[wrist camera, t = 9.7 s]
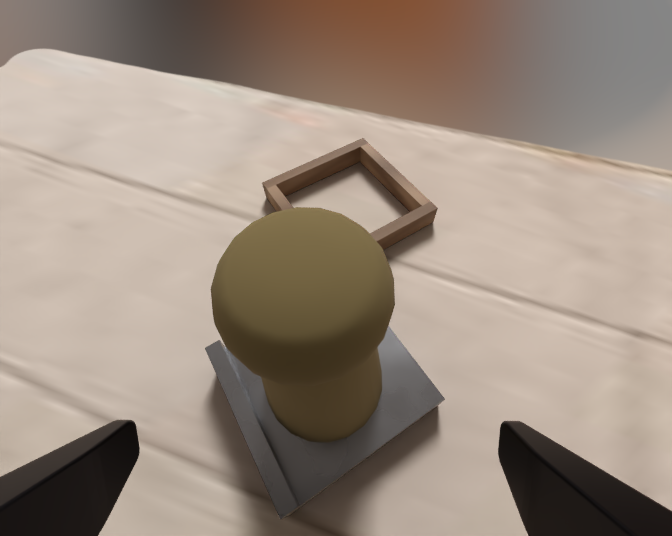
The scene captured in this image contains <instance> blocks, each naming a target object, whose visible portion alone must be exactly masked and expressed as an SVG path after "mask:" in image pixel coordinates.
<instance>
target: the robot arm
mask: <svg viewBox="0 0 672 536" xmlns="http://www.w3.org/2000/svg"><path fill="white" fill-rule="evenodd" d="M498 455H499V460H500V463H501V466H502V468H503V471H504V474H505V476H506V479H507V482H508V484H509V487H510V490H511V492H512V495H513V498H514V500H515V503H516V506H517V508H518V511H519V514H520V516H521V519H522V521H523V524H524V526H525V529H526V531H527V533H528V536H672V511H671V510H669V509H667V508H666V507H664V506H662V505H661V504H659V503H657V502H655V501H654V500H652V499H650V498H649V497H647V496H645V495H644V494H642V493H640V492H639V491H637V490H635V489H634V488H632V487H630V486H629V485H627V484H625V483H623V482H622V481H620V480H618V479H617V478H615V477H613V476H612V475H610V474H608V473H607V472H605V471H603V470H602V469H600V468H598V467H597V466H595V465H593V464H591V463H590V462H588V461H586V460H585V459H583V458H581V457H580V456H578V455H576V454H575V453H573V452H571V451H570V450H568V449H566V448H565V447H563V446H561V445H559V444H558V443H556V442H554V441H553V440H551V439H549V438H548V437H546V436H544V435H543V434H541V433H539V432H538V431H536V430H534V429H533V428H531V427H529V426H528V425H526V424H524V423H522V422H520V421H504V422H503V423H502V424H501V427H500V437H499V448H498ZM138 456H139V442H138V435H137V429H136V424H135V422H134V421H132V420H115V421H113V422H111V423H109V424H107V425H105V426H103V427H101V428H99V429H97V430H95V431H93V432H91V433H89V434H87V435H85V436H83V437H80V438H78V439H76V440H74V441H72V442H70V443H68V444H66V445H64V446H62V447H60V448H58V449H56V450H54V451H52V452H50V453H48V454H46V455H44V456H42V457H40V458H38V459H36V460H34V461H32V462H30V463H28V464H26V465H24V466H22V467H20V468H18V469H16V470H14V471H12V472H9V473H7V474H5V475H3V476H1V477H0V536H98V535H99V533H100V531H101V530H102V528H103V526H104V524H105V522H106V521H107V519H108V517H109V515H110V513H111V511H112V509H113V507H114V505H115V503H116V501H117V499H118V497H119V495H120V493H121V491H122V489H123V487H124V485H125V483H126V481H127V479H128V477H129V475H130V473H131V471H132V469H133V467H134V465H135V463H136V461H137V459H138Z"/></svg>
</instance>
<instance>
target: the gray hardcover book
mask: <svg viewBox="0 0 672 536" xmlns="http://www.w3.org/2000/svg"><path fill="white" fill-rule="evenodd" d="M205 349H206V352H207V354H208V356H209V359H210V361H211V363H212V365H213V368H214V370H215V372H216V374H217V377H218V379H219V381H220V383H221V386H222V388H223V390H224V393H225V395H226V397H227V399H228V402H229V404H230V406H231V408H232V411H233V413H234V415H235V418H236V420H237V422H238V424H239V427H240V429H241V431H242V433H243V436H244V438H245V440H246V442H247V445H248V447H249V449H250V452H251V454H252V456H253V458H254V461H255V463H256V465H257V467H258V470H259V472H260V474H261V477H262V479H263V481H264V483H265V486H266V488H267V490H268V492H269V495H270V497H271V499H272V501H273V504H274V506H275V508H276V511H277V513H278V515H279V517H280V519H282V518H285V517H287V516H289V515H291V514H292V513H293V512H295V511H296V510H297V509H299V508H300V507H301V506H303V505H304V504H305V503H307V502H308V501H309V500H311V499H312V498H314V497H315V496H316V495H318V494H319V493H320V492H322V491H323V490H324V489H326V488H327V487H328V486H330V485H331V484H332V483H334V482H335V481H337V480H338V479H339V478H341V477H342V476H343V475H345V474H346V473H347V472H349V471H350V470H351V469H353V468H354V467H355V466H357V465H358V464H360V463H361V462H362V461H364V460H365V459H366V458H368V457H369V456H370V455H372V454H373V453H374V452H376V451H377V450H378V449H380V448H381V447H383V446H384V445H385V444H387V443H388V442H389V441H391V440H392V439H393V438H395V437H396V436H397V435H399V434H400V433H402V432H403V431H404V430H406V429H407V428H408V427H410V426H411V425H412V424H414V423H415V422H416V421H418V420H419V419H420V418H422V417H423V416H425V415H426V414H427V413H429V412H430V411H431V410H433V409H434V408H435V407H437V406H438V405H439V404H440V403H441V402H442V401H443V400H445V399H444V397H443V396H442V395H441V393H440V392H439V391H438V389H437V388H436V387H435V386H434V384H433V383H432V382H431V380H430V379H429V378H428V376H427V375H426V374H425V373H424V371H423V370H422V369H421V367H420V366H419V365H418V363H417V362H416V361H415V360H414V358H413V357H412V356H411V354H410V353H409V352H408V351H407V349H406V348H405V347H404V345H403V344H402V343H401V341H400V340H399V339H398V338H397V336H396V335H395V334H394V332H393V331H392V330H391V328H390V327H389V326H388V328H387V331H386V334H385V337H384V339H383V341H382V342H381V343H380V344H379V346H378V353H379V358H380V364H381V370H382V392H381V395H380V399H379V402H378V405H377V408H376V410H375V411H374V413H373V414H372V416H371V417H370V418H369V420H368V421H367V423H366V424H365V425H364V426H363V427H361V428H360V429H359V430H357V431H356V432H354V433H353V434H352V435H350V436H349V437H346V438H343V439H339V440H336V441H333V442H311V441H307V440H305V439H303V438H300V437H298V436H296V435H293V434H291V433H290V432H289V431H288V430H287V429H286V428H285V427H284V426H283V425H282V424H280V423H279V422H278V421H277V419H276V417H275V415H274V413H273V412H272V410H271V408H270V406H269V404H268V401H267V397H266V393H265V390H264V386H263V382H262V379H261V376H258V375H256V374H253V373H252V372H251V371H250V370H249V369H248V368H247V367H246V366H245V365H244V364H242V363H241V362H240V361H239V360H238V359H237V358H236V357H235V356H234V355H233V354H232V353H231V352H230V351H229V350H228V349H227V348H226V346H224V345H223V344H222V343H221V341H220V340H219V341H217V342H215V343H213V344H211V345H210V346H208V347H206V348H205Z"/></svg>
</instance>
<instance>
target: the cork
mask: <svg viewBox="0 0 672 536" xmlns="http://www.w3.org/2000/svg"><path fill="white" fill-rule="evenodd" d="M211 296H212V308H213V317H214V322H215V325H216V327H217V330H218V332H219V334H220V336H221V338H222V340H223V342H224V344H225V346H226V348H227V349H228V350H229V351H230V352H231V353H232V354H233V355H234V356H235V357H236V358H237V359H238V360H239V361H240V362H241V363H242V364H244V365H245V366H246V367H247V368H248V369H249V370H250V371H251V372H252V373H253V374H256V375H258V376H261V379H262V382H263V386H264V390H265V393H266V397H267V401H268V404H269V406H270V408H271V410H272V412H273V413H274V415H275V417H276V419H277V421H278V422H279V423H280V424H282V425H283V426H284V427H285V428H286V429H287V430H288V431H289V432H290V433H291V434H293V435H296V436H298V437H300V438H303V439H305V440H307V441H311V442H333V441H336V440H339V439H343V438H346V437H349V436H350V435H352V434H353V433H354V432H356V431H357V430H359V429H360V428H361V427H363V426H364V425H365V424H366V423H367V421H368V420H369V418H370V417H371V416H372V414H373V413H374V411H375V410H376V408H377V405H378V402H379V399H380V395H381V392H382V370H381V364H380V358H379V353H378V346H379V344H380V343H381V342H382V341H383V339H384V337H385V334H386V331H387V328H388V325H389V322H390V319H391V316H392V312H393V309H394V306H395V299H394V278H393V275H392V271H391V268H390V266H389V263H388V261H387V258H386V256H385V254H384V251H383V249H382V247H381V246H380V245H379V244H378V243H377V242H376V240H375V239H374V238H373V237H372V236H371V235H370V234H369V233H368V232H367V230H365V229H364V228H363V227H362V226H360V225H359V224H357V223H356V222H354V221H352V220H351V219H349V218H347V217H345V216H344V215H342V214H340V213H336V212H332V211H329V210H325V209H321V208H299V207H296V208H291V209H287V210H282V211H278V212H273V213H271V214H269V215H267V216H265V217H263V218H261V219H259V220H257V221H255V222H253V223H251V224H250V225H249V226H248V227H246V228H245V229H244V230H243V231H242V232H241V233H239V234H238V235H237V236H236V237H235V238H234V239H233V241H232V242H231V244H230V245H229V247H228V248H227V250H226V251H225V253H224V254H223V256H222V257H221V259H220V261H219V263H218V265H217V268H216V272H215V276H214V279H213V283H212V286H211Z"/></svg>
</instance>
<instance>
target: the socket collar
mask: <svg viewBox="0 0 672 536" xmlns="http://www.w3.org/2000/svg"><path fill="white" fill-rule="evenodd" d="M358 162H361V163H362V164H363V165H364V166H365V167H366V168H367V169H368V170H369V171H370V172H371V173H372V174H373V175H374V176H375V177H376V178H377V179H378V180H379V181H380V182H381V183H382V184H383V185H384V186H385V187H386V188H387V189H388V190H389V191H390V192H391V193H392V194H393V195H394V196H395V197H396V198H397V199H398V200H399V201H400V202H401V203H402V204H403V205H404V206H405V207H406V208H407V209H408V210H409V211H410V213H408V214H406V215H404V216H402V217H400V218H398V219H396V220H395V221H393V222H391V223H389V224H387V225H385V226H383V227H381V228H380V229H378V230H376V231H374V232H372V233H370V235H371V236H372V237H373V238H374V239H375V240H376V242H377V243H378V244H379V245H380V246H381V247H382V249H383V250H384V249H386V248H388V247H389V246H391V245H393V244H395V243H397V242H398V241H400V240H402V239H404V238H406V237H407V236H409V235H411V234H413V233H415V232H416V231H418V230H420V229H422V228H424V227H425V226H427V225H429V224H431V223H433V221H434V218H435V215H436V212H437V207H436V206H435V205H434V204H433V203H432V202H431V201H430V200H428V199H427V198H426V197H425V196H424V195H423V194H422V193H421V192H420V191H419V190H418V189H417V188H416V187H415V186H414V185H412V184H411V183H410V182H409V181H408V180H407V179H406V178H405V177H404V176H403V175H402V174H401V173H400V172H399V171H398V170H396V169H395V168H394V167H393V166H392V165H391V164H390V163H389V162H388V161H387V160H386V159H385V158H384V157H383V156H382V155H380V154H379V153H378V152H377V151H376V150H375V149H374V148H373V147H372V146H371V145H370V144H369V143H368V142H367V141H366V140H364V139H363V138H362V139H360V140H357V141H355V142H353V143H351V144H348V145H346V146H344V147H342V148H339V149H337V150H335V151H333V152H330V153H328V154H326V155H324V156H321V157H319V158H317V159H315V160H312V161H310V162H308V163H306V164H303V165H301V166H299V167H297V168H294V169H292V170H290V171H288V172H285V173H283V174H281V175H279V176H276V177H274V178H272V179H270V180H267V181H265V182H263V183H262V184H263V187H264V191H265V194H266V197H267V199H268V200H269V202H270V203H271V204H272V206H273V207H274V209H275V210H276V211H277V212H278V211H282V210H287V209H291V208H293V207H292V205H291V204H290V203H289V201H288V200H287V199H286V197H285V196H287V195H289V194H291V193H293V192H296V191H298V190H300V189H302V188H304V187H306V186H309V185H311V184H313V183H315V182H317V181H319V180H321V179H324V178H326V177H328V176H330V175H332V174H334V173H337V172H339V171H341V170H343V169H345V168H347V167H349V166H352V165H354V164H356V163H358Z"/></svg>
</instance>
